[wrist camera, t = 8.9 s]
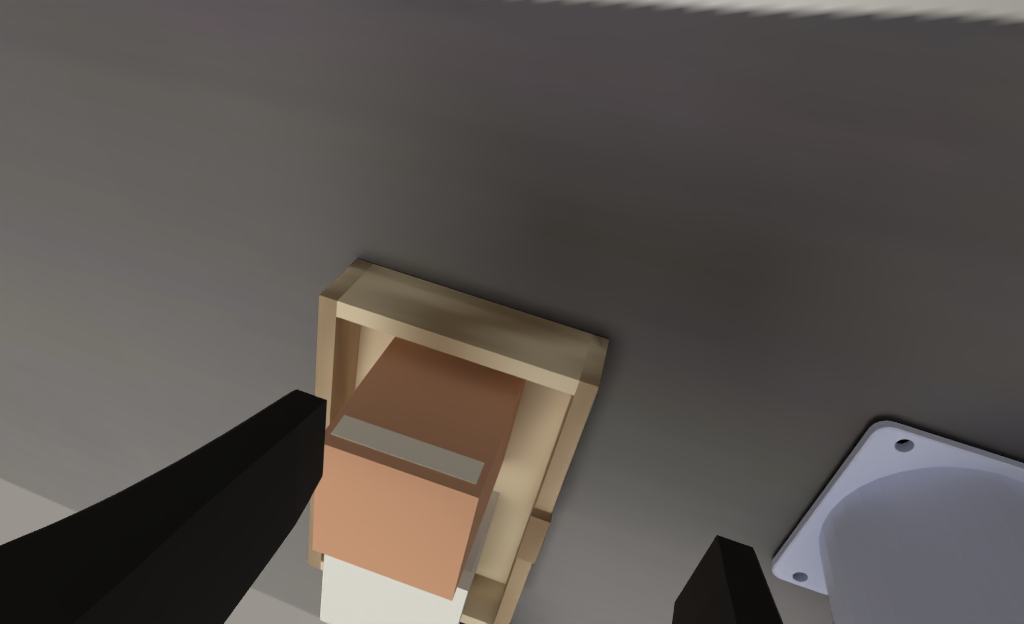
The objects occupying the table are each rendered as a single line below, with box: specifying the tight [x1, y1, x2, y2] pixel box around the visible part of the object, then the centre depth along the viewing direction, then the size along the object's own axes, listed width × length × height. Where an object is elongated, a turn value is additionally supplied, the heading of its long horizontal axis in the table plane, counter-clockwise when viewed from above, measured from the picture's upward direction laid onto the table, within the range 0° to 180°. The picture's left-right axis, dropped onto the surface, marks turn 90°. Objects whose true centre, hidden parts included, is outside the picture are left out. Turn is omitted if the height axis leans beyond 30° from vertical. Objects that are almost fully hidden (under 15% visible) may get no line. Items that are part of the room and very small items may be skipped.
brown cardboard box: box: [312, 336, 526, 601], centre depth 20 cm, size 5×5×6 cm
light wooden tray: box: [308, 259, 609, 624], centre depth 24 cm, size 9×14×3 cm, turn 168°
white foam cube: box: [320, 491, 499, 624], centre depth 25 cm, size 5×5×4 cm
